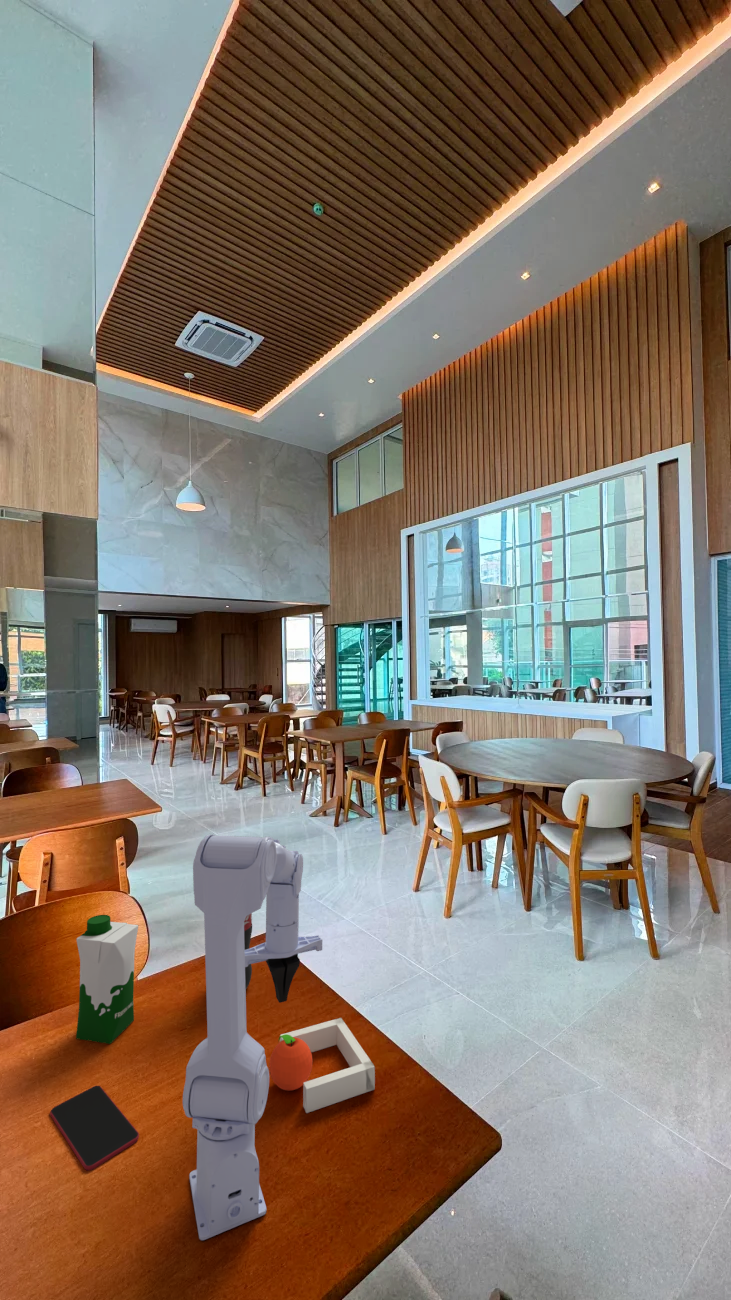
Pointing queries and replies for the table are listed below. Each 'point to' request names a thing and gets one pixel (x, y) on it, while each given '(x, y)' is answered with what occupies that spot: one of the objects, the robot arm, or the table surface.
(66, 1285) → the table surface
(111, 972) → the milk carton
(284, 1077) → the clementine
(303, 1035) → the holder
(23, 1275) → the table surface
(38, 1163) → the table surface
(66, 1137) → the smartphone
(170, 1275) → the table surface
